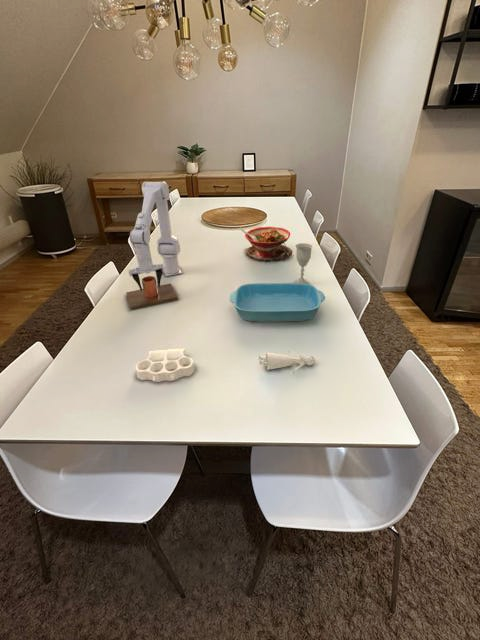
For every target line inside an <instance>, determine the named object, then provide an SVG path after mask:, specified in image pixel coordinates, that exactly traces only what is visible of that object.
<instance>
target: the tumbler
mask: <svg viewBox="0 0 480 640" xmlns="http://www.w3.org/2000/svg"><path fill="white" fill-rule="evenodd" d="M141 286H142V289H144V294H145V297H148V298H152V297H155V296H157V295H158V289H157V286H158V283H157V278H156V277H155V276H153V275H148V276H143V277H142V278H141Z"/></svg>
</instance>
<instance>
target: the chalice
mask: <svg viewBox="0 0 480 640" xmlns="http://www.w3.org/2000/svg"><path fill="white" fill-rule="evenodd" d="M313 247H314V246H313V245H312V244H310V243H306V242H305V243H303V242H302V243H297V244H295V249H296V250H295V251H296V253H295V258H296V261H297V263H298V265H299V267H300V268H301V269H300V273H299V275H300V277H299V278H298V279H297V280H296V282H295V283H304V284H308V283H307V280H306V279H305V278H304V275H305V273H304V272H305V267H306V266H307V265H308V264H309V262H310V260H311V258H312V249H313Z"/></svg>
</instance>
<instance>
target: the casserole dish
mask: <svg viewBox="0 0 480 640" xmlns="http://www.w3.org/2000/svg"><path fill="white" fill-rule="evenodd" d="M325 298H326V296H325V294H324V292H323V291H321V290H319V289H318V288H317V287H316V286H315V285H312V284H310V283H307V284H304V283H296V282H257V283H256V282H255V283H245V284H242V285H240V286H238V287H237V288H236V289H235V290H234V291H232V292H231V293H230V295H229V302H230V303H232V304H234V307H235V310H236V312H237V314H238V316H239V317H240V318H241V319H243V320H246V321H249V322H265V323H266V322H267V323H268V322H269V323H271V322H273V323H274V322H275V323H276V322H305V321H308V320H312V319H313V318H314V317H315V316H316V315H317V313H318V311H319V309H320V307H321V304H322V303H323V302H324V301H325V300H326V299H325Z"/></svg>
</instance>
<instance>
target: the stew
mask: <svg viewBox="0 0 480 640" xmlns="http://www.w3.org/2000/svg"><path fill="white" fill-rule="evenodd" d="M238 227H239V229H240V230H241V232H242V233H244V236H245V239H246V240H247V241H248V242H249V243H250V245H251V246H249V247H247V248H245V250H246V251H245V255H246V256H247V257H249V258H250V259H252V260H255V261H257V262H263V263H264V262H265V263H269V262H270V263H271V262H272V263H273V262H281V261H287V260H288V259H290V257H291V256H293V250H292V249H291V247H289V246H287V245H286V242H287V241H288V240H289V238H290V237H291V232H290V231H289V230H288V229H285V228H283V227H275V226H260V227H254V228H251V229H249V230H248V231H247V232H246V230H244V229H243V228H242V227H241V226H240V225H238Z"/></svg>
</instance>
